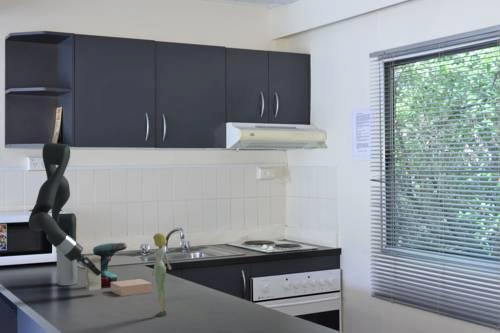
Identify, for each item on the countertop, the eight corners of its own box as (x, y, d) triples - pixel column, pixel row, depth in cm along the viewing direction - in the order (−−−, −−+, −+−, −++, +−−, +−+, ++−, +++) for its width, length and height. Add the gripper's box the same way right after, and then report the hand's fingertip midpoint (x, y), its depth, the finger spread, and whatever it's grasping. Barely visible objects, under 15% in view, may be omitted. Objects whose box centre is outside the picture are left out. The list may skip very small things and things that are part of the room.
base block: (110, 291, 307) (110, 282, 307) (141, 287, 314) (140, 278, 314) (121, 296, 295) (121, 286, 295) (152, 292, 302) (152, 283, 302)
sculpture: (164, 311, 263) (162, 231, 262) (175, 311, 261) (173, 231, 261) (146, 318, 251) (144, 235, 250) (158, 319, 249) (156, 235, 249)
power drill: (124, 287, 314) (123, 243, 314) (91, 287, 318) (89, 243, 317) (130, 285, 321) (129, 241, 321) (97, 284, 325) (96, 241, 325)
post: (86, 288, 299) (85, 256, 299) (97, 287, 302) (96, 255, 302) (89, 290, 295) (88, 257, 295) (101, 289, 298) (100, 256, 297)
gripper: (79, 242, 288) (108, 268, 294) (70, 239, 301) (98, 264, 307) (67, 256, 286) (96, 282, 292) (58, 252, 298) (87, 277, 304)
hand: (97, 273), depth 299 cm, fingers closed on post, 5 cm apart
